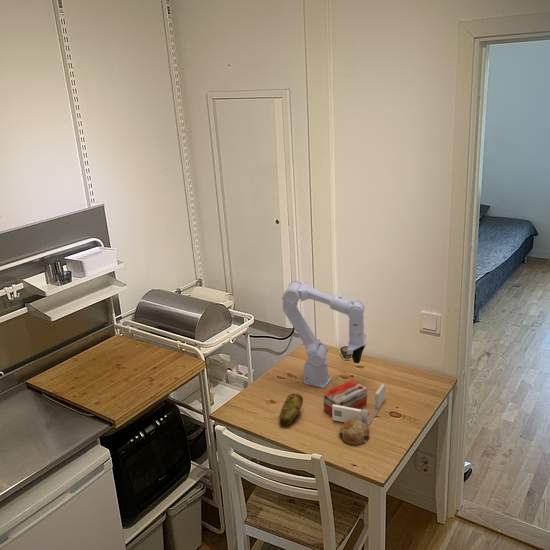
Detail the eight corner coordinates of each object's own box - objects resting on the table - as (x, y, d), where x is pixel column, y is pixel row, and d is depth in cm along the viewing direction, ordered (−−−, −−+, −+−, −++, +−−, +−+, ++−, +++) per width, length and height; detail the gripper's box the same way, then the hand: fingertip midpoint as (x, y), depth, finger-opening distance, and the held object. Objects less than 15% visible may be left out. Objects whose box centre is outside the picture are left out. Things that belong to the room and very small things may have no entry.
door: (360, 425, 208) (360, 411, 206) (332, 420, 213) (332, 406, 210) (361, 423, 210) (361, 409, 207) (333, 418, 214) (333, 404, 212)
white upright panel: (360, 427, 208) (360, 411, 206) (380, 398, 225) (380, 382, 223) (366, 428, 207) (366, 412, 205) (386, 399, 224) (386, 384, 222)
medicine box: (337, 420, 213) (337, 402, 210) (323, 411, 219) (322, 392, 217) (367, 405, 221) (367, 387, 218) (352, 396, 228) (352, 378, 225)
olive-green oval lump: (270, 421, 215) (269, 402, 212) (294, 406, 223) (293, 388, 221) (287, 429, 210) (286, 411, 207) (310, 414, 218) (309, 395, 215)
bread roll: (356, 456, 199) (365, 441, 195) (332, 437, 202) (340, 423, 198) (368, 440, 207) (377, 425, 203) (344, 422, 210) (352, 408, 206)
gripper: (359, 341, 219) (359, 372, 223) (372, 325, 230) (372, 356, 235) (341, 338, 222) (342, 369, 227) (356, 323, 234) (356, 352, 239)
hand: (356, 362), depth 231 cm, fingers closed
